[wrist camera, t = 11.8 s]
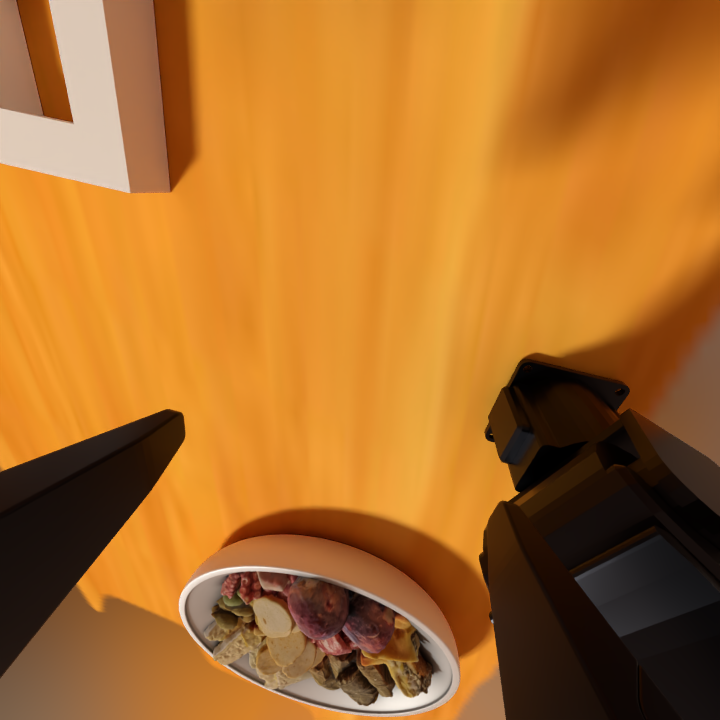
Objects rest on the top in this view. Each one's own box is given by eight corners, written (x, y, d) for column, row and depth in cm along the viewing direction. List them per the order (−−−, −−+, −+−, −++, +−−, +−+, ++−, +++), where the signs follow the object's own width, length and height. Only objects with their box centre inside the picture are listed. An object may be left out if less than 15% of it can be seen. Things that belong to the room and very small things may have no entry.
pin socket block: (147, -58, 14) (85, -113, 12) (170, 192, 19) (130, 193, 17) (-53, -93, 15) (-154, -153, 12) (18, 157, 20) (-43, 153, 17)
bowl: (425, 685, 44) (425, 776, 37) (219, 628, 47) (184, 703, 40) (491, 559, 30) (511, 670, 23) (188, 488, 33) (126, 567, 26)
